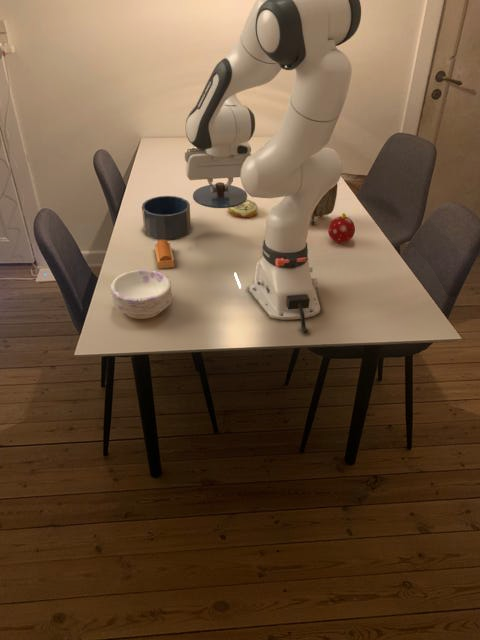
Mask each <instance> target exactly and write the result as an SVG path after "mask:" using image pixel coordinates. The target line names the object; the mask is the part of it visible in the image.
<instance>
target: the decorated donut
mask: <svg viewBox="0 0 480 640" xmlns="http://www.w3.org/2000/svg"><path fill="white" fill-rule="evenodd" d="M258 209H259V207H258V204H257V203H256V202H254V200H253V201H252V200H251V199H247V200H246V201H245V202H244V203H243V204H241V205H239V206H235V207H231V208H227V210H228V212H229V213H230V214H231V215H232V216H234V217H237V218H238V217H239V218H251V217H254V216H256V214H257V212H258Z"/></svg>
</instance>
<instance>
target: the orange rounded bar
mask: <svg viewBox="0 0 480 640" xmlns="http://www.w3.org/2000/svg"><path fill="white" fill-rule="evenodd" d="M154 250H155V251H154V252H155V257H156V263H157V269H158V270H160V269H170V268H175V258H174V254H173V250H172V245H171V242H168V240H164V239H158V241H157V242H156V243H154Z"/></svg>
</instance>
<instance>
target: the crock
mask: <svg viewBox="0 0 480 640" xmlns="http://www.w3.org/2000/svg"><path fill="white" fill-rule="evenodd" d="M141 214H142V223H143V230H144V233H145V234H146V235H147V236H148V237H150V238H153V239H156V240H162V239H164V240H166V241H168V240H176V239H180V238H183V237H185V236H186V235H188V234H189V233H190V232H191V229H192V224H191V223H192V222H191V221H192V220H191V203H190V202H189V201H188V200H187V199H185V198H184V197H179V196H176V195H175V196H174V195H162V196H161V195H160V196H154V197H151V198H148V199H147V200H145V201H144V202H143V203H142V205H141Z"/></svg>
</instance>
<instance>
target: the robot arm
mask: <svg viewBox="0 0 480 640" xmlns="http://www.w3.org/2000/svg"><path fill="white" fill-rule="evenodd" d="M361 19H362V5H361V1H360V0H256V1H255V2H254V4H253V5H252V8H250V11H249V14H248V16H247V17H246V20H245V23H244V25H243V28H242V30H241V34H240V36H239V38H238V39H237V42H236V44H234V46H233V47H232V49H231V50H230V51H229V53H227V55H226V56H224V58H222V59H221V60H220V61H219V62H218V63H216V65H215V67H214V68H213V70H212V71H211V73H210V76H209V78H208V80H207V82H206V84H205V85H204V88H203V90H202V92H201V94H200V97H199V99H198V101H197V103H196V104H195V106H194V107H193V108H192V110H191V111H190V112H189V114H188V115H187V118H186V119H185V135H186V138H187V140H188V142H189V143H190V144H191V145H192V146H190V147H189V148H187V149H186V150H185V151H184V161H185V162H186V168H185V170H186V171H185V173H186V177H187V179H188V180H189V181H201V180H207V183H208V185H210V186H211V192H212V193H213V192H217V190H216V189H217V187H216V185H214V184H213V182H214V180H217V179H227V182H226V183H224V191H225V192H227V191H229V186H230V185H232V184H233V182H234V178H240V182H241V185H242V187H243V188H242V189H243V190H244V191H245V192H246V193H247V195H249V196H250V197H251V198H258V199H276V198H282V199H281V201H280V202H278V203H277V204H276V205H274V206H273V207H272V208H271V209H270V210H269V212H268V213H267V214H266V217H265V231H264V232H265V233H264V240H263V242H262V246H261V247H262V248H261V249H262V256H261V258H260V259H259V260H258V261H257V263H256V267H255V275H254V282H253V283H252V284H251V285H249V288H248V291H249V293H251V294H252V296H253V297H254V299H255V300H256V301H257V302H258V303H259V305H260V306H261V307H262V308H263V310H264V311H265V312H266V314H267V315H268V316H269V317H270V318H271V319H274V320H284V321H290V320H300V325H301V330H302V332H303V333H304V334H308V333H309V330H308V329H307V327H306V319H308V318H310V317H314V316H316V315H318V314H319V313H321V306H320V302H319V297H318V294H317V291H316V287H318V278H316V277H313V278H312V273H313V267H310V262H309V256H308V255H309V249H308V242H307V239H308V233H309V228H310V224H311V220H312V217H311V216H312V214H313V212H314V210H315V208H316V206H317V204H318V203H319V201H320V200H321V199H322V197H323V196H324V195H325V194H326V193H327V192H328V191H329V190H330V189H331V188H333V187H334V186H335V185H336V184H337V185H338V184H339V181H340V179H341V176H342V172H343V164H342V160H341V156H340V155H339V154H338V152H337V151H336V150H335V149H333V147H326V146H327V145H328V143H329V142H330V140H331V137H332V135H333V132H334V131H335V128H336V125H337V123H338V120H339V118H340V116H341V113H342V110H343V108H344V105H345V102H346V99H347V95H348V92H349V88H350V83H351V78H352V71H353V67H352V64H351V61H350V58H349V57H348V56H347V55H346V53H344V51H341V50H340V49H338V48H337V46H340V45H342V44H344V43H346V42H347V41H348V40H350V39H351V38H352V37H353V36H354V35H355V34H356V32H357V31H358V30H359V27H360V23H361ZM281 70H285V71H293V70H295V81H294V85H293V87H292V91H291V94H290V97H289V100H288V104H287V107H286V109H285V113H284V116H283V118H282V121H281V123H280V126H279V127H278V129H277V130H276V132H275V133H274V134H273V135H272V137H271V138H270V139H269V140H268V141H267V142H266V143H265V144H264V145H263V146H262V147H261V148H259V149H258V150H257V151H255V152H254V153H251V152H252V147H251V144H250V143H249V141H250V140H251V139H252V138H253V136H254V133H255V130H256V117H255V115H254V113H253V111H252V109H250V108H249V107H248V106H246V105H244V104H243V103H242V102H241V101H240V100H239V98H238V97H237V94H238V93H240V92H244V91H246V90H249V89H253V88H257V87H261V86H263V85H264V86H265V85H266V84H268V83H270V82H271V81H272V80H274V79H275V78H276V77H277V75H278V74H279V73H280V72H281ZM234 277H235V280H236V282H237V285H238V288H239V289H241V288H242V285H241V282H240V280H239V278H238V275H237V272H234Z"/></svg>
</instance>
